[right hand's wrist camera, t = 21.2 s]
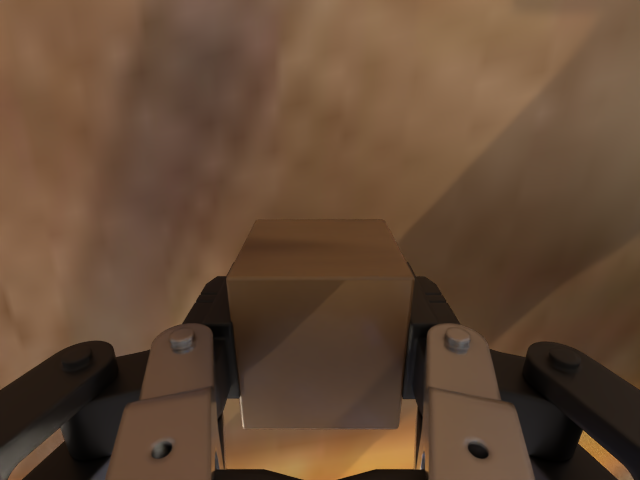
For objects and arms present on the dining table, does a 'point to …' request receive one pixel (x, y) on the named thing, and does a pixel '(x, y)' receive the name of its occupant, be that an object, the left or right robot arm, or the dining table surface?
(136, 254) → the dining table surface
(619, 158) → the dining table surface
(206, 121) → the dining table surface
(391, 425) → the brown cube
